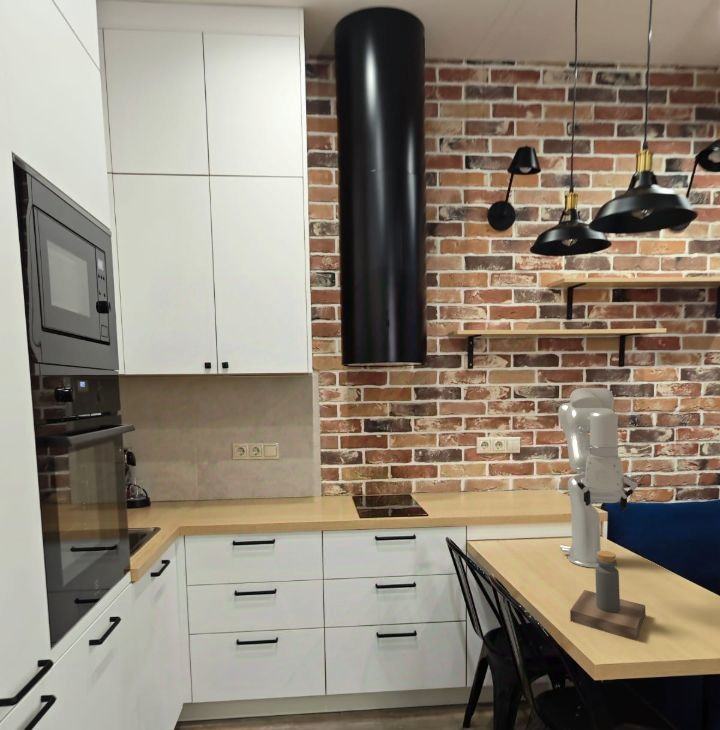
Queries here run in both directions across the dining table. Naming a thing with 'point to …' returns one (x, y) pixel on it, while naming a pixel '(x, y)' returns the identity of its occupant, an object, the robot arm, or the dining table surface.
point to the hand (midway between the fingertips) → (605, 507)
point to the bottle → (607, 582)
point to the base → (609, 616)
